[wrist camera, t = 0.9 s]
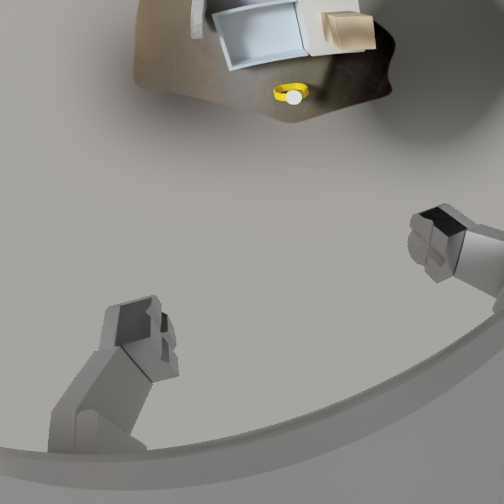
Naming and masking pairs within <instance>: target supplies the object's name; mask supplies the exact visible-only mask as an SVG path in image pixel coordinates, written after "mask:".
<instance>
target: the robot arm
mask: <svg viewBox="0 0 504 504" xmlns="http://www.w3.org/2000/svg"><path fill="white" fill-rule="evenodd" d="M410 227H411V229H412V232H411V234H410V235H409V237H408V249H409V253H410V255H411V257H412V259H413V260H414V261H415V262H416V263H417V264H420V265H423V266H424V268H425V272H426V273H427V274H428V275H429V276H430V277H431V278H432V279H433V280H434V281H435V282H436V283H439V282H441V281H443V280H445V279H448V278H450V277H452V276H454V277H456V278H458V279H460V280H462V281H464V282H466V283H468V284H470V285H472V286H474V287H475V288H477V289H479V290H481V291H483V292H485V293H487V294H489V295H491V296H493V297H494V298H496V301H495V303H494V306H493V312H494V313H495V314H493V315H492V316H491V317H489V318H488V319H487V320H485V321H484V322H483V323H481V324H480V325H479V326H477V327H476V328H474V329H473V330H471V331H470V332H469V333H467V334H466V335H464V336H463V337H461V338H460V339H458V340H457V341H455V342H454V343H452V344H450V345H449V346H447V347H446V348H444V349H442V350H441V351H439V352H437V353H436V354H434V355H432V356H431V357H429V358H427V359H426V360H424V361H422V362H420V363H419V364H417V365H415V366H413V367H411V368H410V369H408V370H406V371H404V372H402V373H400V374H398V375H396V376H394V377H392V378H390V379H388V380H386V381H384V382H382V383H380V384H378V385H376V386H374V387H372V388H369V389H367V390H365V391H363V392H361V393H358V394H356V395H354V396H352V397H349V398H347V399H344V400H342V401H340V402H337V403H334V404H332V405H329V406H327V407H324V408H322V409H319V410H316V411H314V412H311V413H308V414H305V415H302V416H299V417H296V418H293V419H291V420H287V421H284V422H281V423H278V424H274V425H271V426H268V427H264V428H261V429H257V430H253V431H249V432H246V433H242V434H238V435H234V436H229V437H225V438H220V439H216V440H211V441H206V442H201V443H195V444H189V445H183V446H178V447H170V448H163V449H155V450H147V447H146V446H145V445H144V444H143V443H142V442H140V441H139V440H137V439H135V438H134V437H132V436H131V435H130V434H131V431H132V429H133V427H134V424H135V422H136V420H137V418H138V415H139V413H140V411H141V409H142V407H143V404H144V402H145V400H146V398H147V396H148V393H149V391H150V389H151V387H152V385H153V384H152V383H153V382H157V381H161V380H165V379H169V378H174V377H177V376H179V371H178V358H177V356H176V354H175V353H174V352H173V350H174V348H175V347H176V336H175V332H174V328H173V325H172V323H171V321H170V319H169V317H168V315H167V314H165V313H162V312H161V303H160V301H159V300H158V298H157V297H156V296H155V295H150V296H146V297H143V298H139V299H135V300H131V301H128V302H124V303H121V304H117V305H113V306H110V307H108V308H107V309H106V310H105V315H104V320H103V326H102V331H101V338H100V344H99V350H98V351H94V352H93V354H92V355H91V357H90V358H89V359H88V361H87V362H86V363H85V365H84V366H83V368H82V369H81V370H80V372H79V373H78V374H77V376H76V377H75V378H74V380H73V381H72V383H71V384H70V386H69V387H68V389H67V390H66V391H65V393H64V394H63V396H62V397H61V398H60V400H59V401H58V403H57V404H56V406H55V407H54V409H53V410H52V413H51V421H50V429H49V440H48V451H47V452H35V451H25V450H17V449H10V448H3V447H0V504H504V231H501V230H498V229H495V228H492V227H488V226H485V225H482V224H479V225H477V224H476V223H475V222H473V221H472V220H470V219H469V218H467V217H466V216H465V215H464V214H462V213H461V212H459V211H458V210H457V209H455V208H454V207H452V206H451V205H449V204H445V203H444V204H441V205H439V206H436V207H434V208H431V209H429V210H425V211H422V212H419V213H416V214H413V216H412V218H411V220H410Z"/></svg>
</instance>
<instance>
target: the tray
mask: <svg viewBox="0 0 504 504" xmlns="http://www.w3.org/2000/svg"><path fill="white" fill-rule="evenodd" d="M295 1H297V0H272V1H266V2H260V3H255V4H249V5H245V6H240V7H236V8H231V9H227V10H223V11H219V12H216V13H213V14H212V18H213V21H214V24H215V27H216V30H217V33H218V36H219V39H220V42H221V45H222V49H223V52H224V55H225V58H226V61H227V64H228V68H229V71H232V70H236V69H240V68H244V67H248V66H253V65H257V64H262V63H267V62H272V61H278V60H283V59H289V58H295V57H302V56H308V52H306V51H305V50H304V49H303V46H302V41H301V36H300V32H299V27H298V22H297V18H296V13H295V9H294V5H293V2H295Z"/></svg>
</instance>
